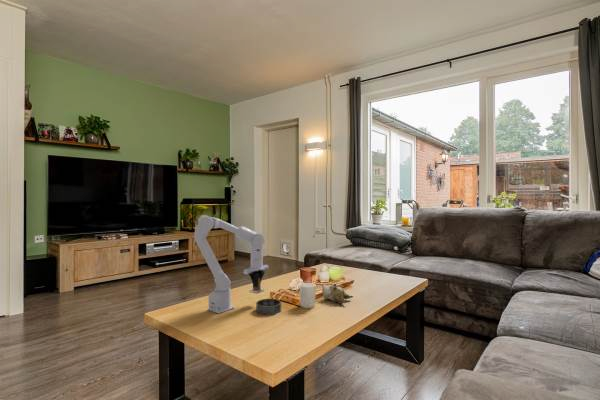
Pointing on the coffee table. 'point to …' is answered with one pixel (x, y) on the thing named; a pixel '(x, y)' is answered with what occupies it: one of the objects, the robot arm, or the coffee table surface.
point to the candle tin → (268, 306)
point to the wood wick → (257, 288)
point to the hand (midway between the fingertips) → (256, 286)
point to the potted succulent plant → (335, 293)
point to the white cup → (307, 295)
